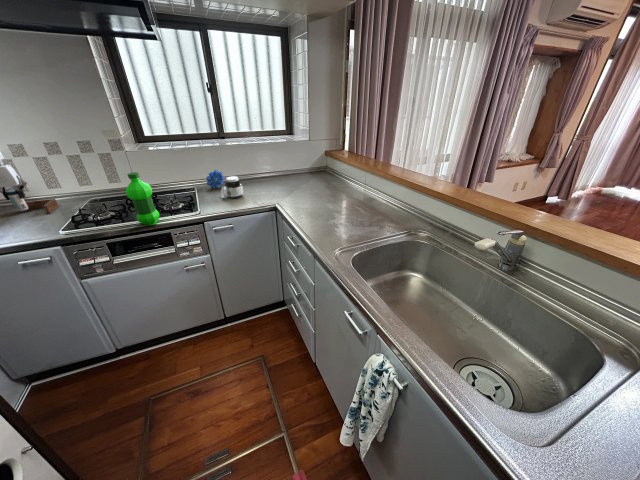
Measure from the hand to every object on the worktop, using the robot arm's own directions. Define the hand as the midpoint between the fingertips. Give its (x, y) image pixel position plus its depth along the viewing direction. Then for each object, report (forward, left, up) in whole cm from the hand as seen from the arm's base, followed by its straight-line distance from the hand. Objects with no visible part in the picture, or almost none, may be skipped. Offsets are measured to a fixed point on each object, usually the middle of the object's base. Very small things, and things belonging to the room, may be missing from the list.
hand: (16, 198), depth 140 cm
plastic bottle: (+64, -42, -8) cm, 77 cm away
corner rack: (+6, -2, -8) cm, 10 cm away
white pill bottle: (0, 0, -7) cm, 7 cm away
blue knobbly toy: (+99, +1, -8) cm, 100 cm away
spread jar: (+106, -21, -8) cm, 109 cm away
